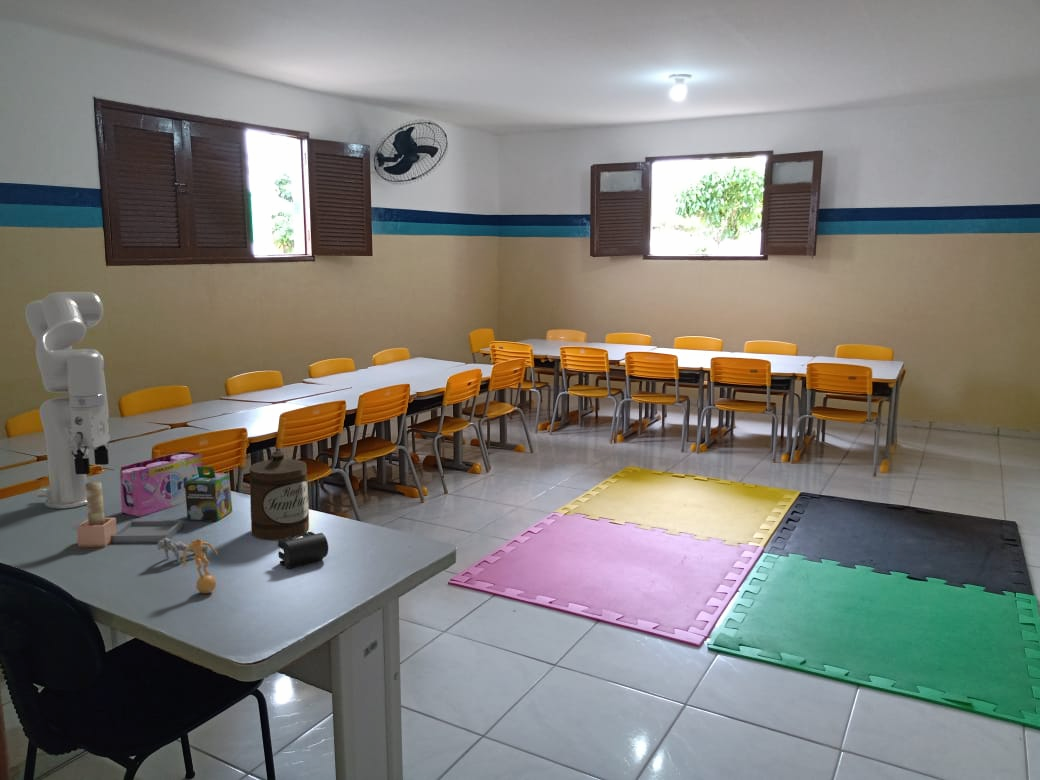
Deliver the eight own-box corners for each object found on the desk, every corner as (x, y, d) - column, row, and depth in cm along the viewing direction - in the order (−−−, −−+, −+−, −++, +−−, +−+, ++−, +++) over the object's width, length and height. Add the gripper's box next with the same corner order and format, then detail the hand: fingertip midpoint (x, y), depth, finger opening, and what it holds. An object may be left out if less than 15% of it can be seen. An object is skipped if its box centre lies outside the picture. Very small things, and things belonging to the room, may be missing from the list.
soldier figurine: (192, 560, 194) (146, 557, 185) (198, 539, 195) (153, 534, 186) (206, 566, 190) (160, 563, 181) (212, 545, 191) (166, 540, 182)
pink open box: (78, 547, 195) (76, 526, 194) (91, 538, 202) (89, 517, 201) (105, 547, 196) (103, 526, 195) (117, 538, 202) (115, 517, 201)
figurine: (195, 601, 165) (192, 547, 163) (178, 594, 168) (175, 541, 167) (228, 588, 172) (226, 536, 170) (211, 582, 175) (209, 531, 173)
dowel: (87, 542, 197) (82, 485, 194) (94, 537, 200) (89, 481, 198) (101, 542, 197) (97, 485, 195) (108, 537, 201) (104, 481, 198)
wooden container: (273, 544, 199) (270, 461, 195) (240, 532, 208) (236, 452, 204) (320, 529, 211) (318, 450, 207) (286, 518, 219) (284, 442, 216)
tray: (110, 542, 199) (109, 535, 199) (130, 526, 211) (130, 520, 210) (166, 542, 200) (165, 535, 199) (183, 526, 212) (183, 520, 211)
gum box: (135, 518, 218) (132, 471, 216) (116, 514, 221) (113, 468, 219) (204, 496, 239) (202, 453, 237) (186, 493, 242) (183, 450, 240)
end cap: (290, 573, 181) (289, 545, 180) (276, 564, 186) (275, 537, 185) (329, 562, 188) (328, 535, 187) (315, 554, 193) (314, 528, 192)
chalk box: (232, 511, 225) (230, 462, 222) (217, 522, 216) (214, 470, 213) (202, 510, 226) (199, 460, 223) (185, 520, 217) (182, 469, 214)
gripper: (85, 407, 184) (91, 477, 187) (118, 396, 202) (123, 460, 204) (52, 407, 184) (59, 478, 187) (88, 396, 201) (94, 461, 204)
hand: (92, 469), depth 195 cm, fingers open, 9 cm apart
